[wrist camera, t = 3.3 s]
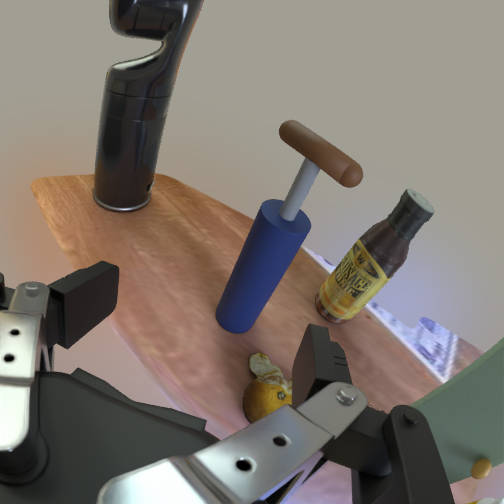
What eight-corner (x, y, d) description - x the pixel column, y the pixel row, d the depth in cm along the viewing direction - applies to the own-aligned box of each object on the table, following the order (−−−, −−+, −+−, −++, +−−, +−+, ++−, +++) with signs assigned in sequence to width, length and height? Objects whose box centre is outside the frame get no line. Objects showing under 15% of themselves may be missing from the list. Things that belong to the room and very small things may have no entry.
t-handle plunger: (270, 334, 35) (378, 169, 21) (240, 351, 32) (351, 171, 18) (229, 286, 38) (304, 118, 24) (199, 298, 35) (268, 113, 21)
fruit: (316, 385, 31) (333, 371, 29) (292, 447, 25) (310, 439, 23) (253, 350, 32) (265, 333, 30) (218, 409, 26) (229, 398, 24)
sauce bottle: (305, 294, 42) (384, 174, 29) (336, 288, 45) (412, 181, 32) (328, 333, 38) (425, 215, 25) (358, 323, 41) (448, 217, 28)
